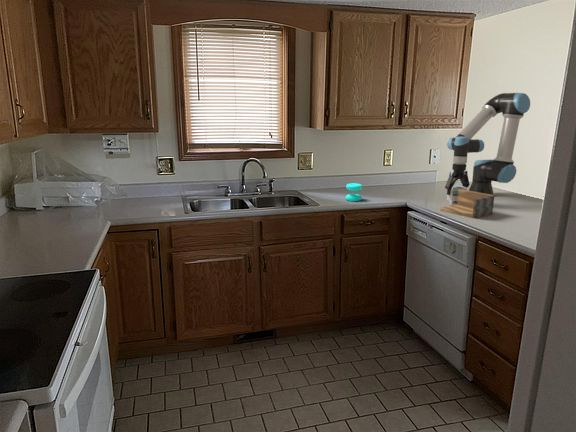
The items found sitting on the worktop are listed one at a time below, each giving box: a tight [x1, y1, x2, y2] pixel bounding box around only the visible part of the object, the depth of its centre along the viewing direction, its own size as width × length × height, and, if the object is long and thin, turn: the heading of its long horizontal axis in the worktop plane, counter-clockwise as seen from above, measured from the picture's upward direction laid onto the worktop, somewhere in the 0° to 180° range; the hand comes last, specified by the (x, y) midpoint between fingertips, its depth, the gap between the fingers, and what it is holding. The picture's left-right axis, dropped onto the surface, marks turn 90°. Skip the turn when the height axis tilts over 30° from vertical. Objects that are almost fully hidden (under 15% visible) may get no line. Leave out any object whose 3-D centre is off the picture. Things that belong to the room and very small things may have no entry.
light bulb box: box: [448, 184, 465, 206], centre depth 263 cm, size 11×7×11 cm, turn 168°
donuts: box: [345, 182, 363, 202], centre depth 276 cm, size 10×10×10 cm
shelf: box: [439, 189, 495, 219], centre depth 244 cm, size 16×22×10 cm
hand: (456, 198), depth 264 cm, fingers open, 13 cm apart
